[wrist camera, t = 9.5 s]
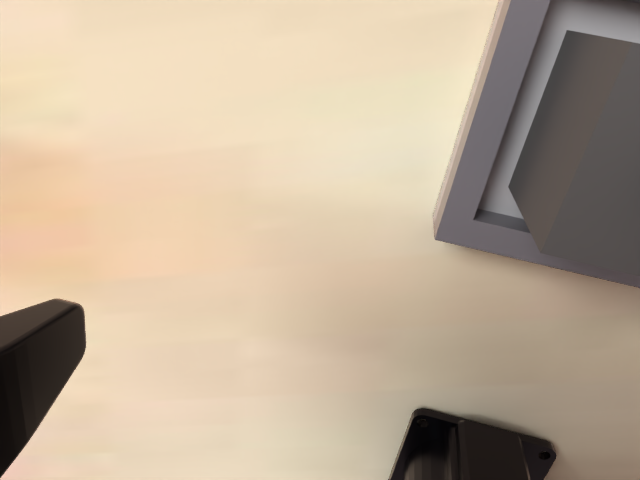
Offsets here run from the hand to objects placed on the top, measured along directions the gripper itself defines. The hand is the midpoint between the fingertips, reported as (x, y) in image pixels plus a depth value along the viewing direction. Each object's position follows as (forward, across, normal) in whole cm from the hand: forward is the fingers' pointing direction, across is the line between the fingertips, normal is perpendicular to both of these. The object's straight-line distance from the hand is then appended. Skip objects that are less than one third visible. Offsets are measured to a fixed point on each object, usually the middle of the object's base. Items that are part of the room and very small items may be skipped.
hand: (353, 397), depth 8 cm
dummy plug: (+11, -6, -3) cm, 13 cm away
